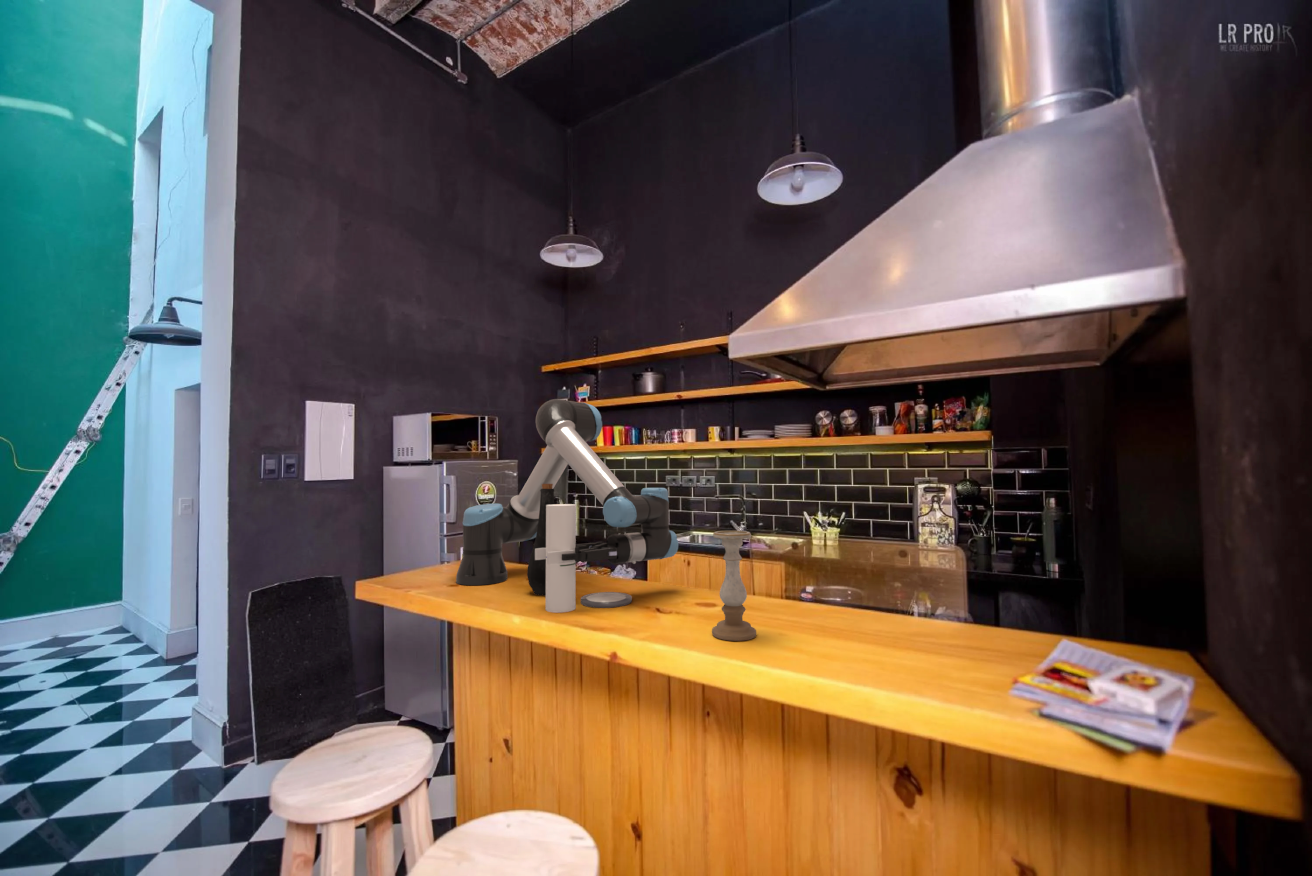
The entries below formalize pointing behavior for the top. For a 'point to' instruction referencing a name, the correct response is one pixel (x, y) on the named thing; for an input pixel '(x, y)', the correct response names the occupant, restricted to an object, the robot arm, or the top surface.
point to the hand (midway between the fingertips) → (541, 556)
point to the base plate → (606, 599)
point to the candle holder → (733, 591)
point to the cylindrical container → (560, 574)
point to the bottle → (540, 544)
